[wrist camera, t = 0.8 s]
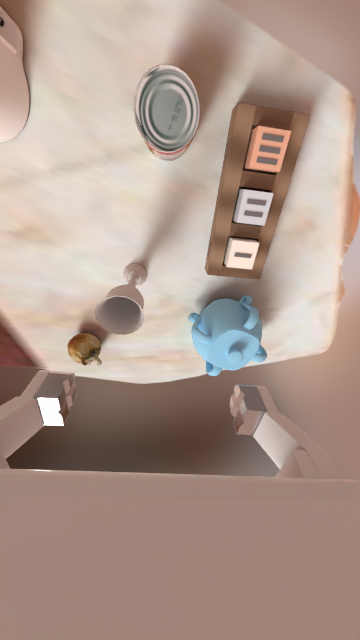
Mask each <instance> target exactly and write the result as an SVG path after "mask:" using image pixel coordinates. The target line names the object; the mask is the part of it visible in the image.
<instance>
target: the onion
mask: <svg viewBox="0 0 360 640" xmlns="http://www.w3.org/2000/svg"><path fill="white" fill-rule="evenodd" d="M100 350H101V345H100V342H99V340H98V338H97V337H96V336H94V335H92V334H88V333H81V334H78V335H76V336H74V337H73V338H72V339H71V340H70V341H69V343H68V353H69V355H70V357H71V358H72V359H73V360H75V361H76V362H78V363H81V364H83V365H87V364H89V365H90V363H91V362H92V361H94V362H95V363H97V364H98V365H101V363H102V361H101V360H100V359H99V357H98V355H99V354H100Z"/></svg>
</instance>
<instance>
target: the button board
mask: <svg viewBox="0 0 360 640" xmlns="http://www.w3.org/2000/svg"><path fill="white" fill-rule="evenodd" d="M309 119H310V115H309V114H303V113H297V112H291V111H285V110H279V109H274V108H268V107H262V106H256V105H250V104H244V103H238V105H237V106H236V107H235V108H234V109H233V110H232V116H231V121H230V127H229V133H228V139H227V144H226V150H225V156H224V162H223V167H222V173H221V179H220V185H219V190H218V196H217V202H216V208H215V213H214V219H213V225H212V231H211V236H210V242H209V248H208V254H207V259H206V265H205V270H206V272H207V274H208V275H216V276H227V277H237V278H248V279H260V276H261V273H262V270H263V266H264V263H265V260H266V257H267V253H268V250H269V247H270V244H271V241H272V237H273V234H274V231H275V228H276V225H277V221H278V218H279V215H280V212H281V208H282V205H283V202H284V199H285V196H286V192H287V189H288V186H289V183H290V180H291V176H292V173H293V170H294V167H295V163H296V160H297V157H298V154H299V151H300V147H301V144H302V141H303V138H304V135H305V131H306V128H307V125H308V122H309ZM257 126H263V127H270V128H276V129H282V130H288V131H291V134H290V138H289V141H288V145H287V148H286V152H285V155H284V159H283V162H282V166H281V169H280V172H273V173H272V172H265V171H258V170H251V169H244V166H245V162H246V157H247V152H248V148H249V143H250V138H251V134H252V130H253V129H254V128H256V127H257ZM240 189H245V190H253V191H260V192H268V193H274V194H273V198H272V201H271V205H270V208H269V212H268V215H267V219H266V222H265V226H262V225H254V224H245V223H237V222H235V221H233V218H234V213H235V208H236V204H237V199H238V194H239V190H240ZM229 237H234V238H243V239H252V240H256V241H257V242H259V247H258V250H257V254H256V257H255V261H254V264H253V268H252V270H251V269H241V268H231V267H226V265H225V264H224V260H225V255H226V250H227V246H228V241H229Z"/></svg>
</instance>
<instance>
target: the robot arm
mask: <svg viewBox="0 0 360 640" xmlns="http://www.w3.org/2000/svg"><path fill="white" fill-rule="evenodd" d="M1 20H4V26H3V27H1ZM22 58H23V37H22V33H21V31H20V29H19V27H18V26H17V24H16V23H15V22H14V21H13V20H12V19H11V17H10V16H9V15H8V14H7V13H6V12H5V11H4V10H3V8H2V7H1V6H0V142H5V141H8V140H10V139H12V138H14V137H15V136H17V135H18V134H19V133H20V131H21V130H22V129H23V127H24V125H25V123H26V120H27V117H28V112H29V91H28V85H27V80H26V76H25V72H24V68H23V62H22ZM74 380H75V374H74V373H69V372H59V371H46V370H40V371H39V372H37V374H36V375H35V377H34V378H33V380H32V381H31V382H30V383H29V385H28V386H27V388H26V389H25V391H24V392H23V393H22V395H21V396H20V397H15V398H13V399H12V400H10V401H8V402H7V403H5V404H3V405H1V406H0V640H360V480H350V479H341V477H340V475H339V474H338V472H337V470H336V468H335V467H334V465H333V463H332V461H331V460H330V458H329V456H328V455H327V453H326V451H325V450H324V449H323V448H322V447H321V446H319V445H318V444H317V443H316V442H315V441H314V440H312V439H311V438H310V437H309V436H308V435H306V434H305V433H304V432H303V431H302V430H300V429H299V428H298V427H297V426H296V425H295V424H293V423H292V422H291V421H290V420H288V418H286V417H285V416H284V415H283V414H282V413H278V411H277V409H276V407H275V405H274V403H273V401H272V398H271V396H270V395H269V392H268V390H267V388H266V387H265V386H252V385H236V386H235V388H234V391H235V393H234V394H233V395H232V396H231V399H230V410H231V414H232V415H233V416H234V417H235V419H234V426H235V429H236V433H237V434H244V435H253V437H254V438H255V439H256V440H257V442H258V443H259V444H260V445H261V446H262V448H263V449H264V450H265V451H266V452H267V454H268V455H269V456H270V457H271V459H272V460H273V461H274V463H275V464H276V465H277V466H278V468H279V469H280V471H279V472H278V474H277V475H276V476H275V477H254V476H250V477H249V476H222V475H191V474H158V473H125V472H122V473H121V472H93V471H92V472H91V471H62V470H30V469H28V470H27V469H10V468H9V466H8V464H7V462H6V460H5V459H6V458H7V457H9V456H10V455H11V454H12V453H13V452H14V451H16V449H18V448H19V447H20V446H21V445H22V444H24V443H25V442H26V441H27V440H28V439H29V438H31V437H32V436H33V435H34V434H35V433H36V432H37V431H39V430H40V429H41V428H42V427H43V426H44V425H64V423H65V420H66V418H67V416H68V414H69V410H68V408H69V407H70V406H71V405H73V403H74V400H75V397H76V392H77V388H76V384H75V383H74Z"/></svg>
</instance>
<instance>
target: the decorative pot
mask: <svg viewBox="0 0 360 640" xmlns="http://www.w3.org/2000/svg"><path fill="white" fill-rule="evenodd" d="M251 302H252V298H251V297H250V296H249V295H244V296H243V297H242V298H241V299H240V301H236V300H233V299H228V298H222V299H218V300H215V301H213V302H212V303H210V304H209V305H208V306H207V307H206V308H205V309H204V310H203V311H202V312H201V313H200V315H198V314H197V313H191V314H190V315H189V317H188V319H189V320H190V321H191V322H195V323H194V325H193V327H192V339H193V343H194V346H195V348H196V350H197V351H198V353H199V354H200V355H201V356H202V357H203V359H204V361H206V371H207V373H208V374H209V375H211V376H216V375H218V374H219V373H220V372H221V371H222V369H227V370H237V369H240V368H242V367H243V366H245V365H246V364H247V363H248V362H249V361H250V360H253V361H255V362H263V361H264V360H265V359H266V357H267V353H266V351H265V350H264V349H263V347H262V346H261V345H260V342H261V336H262V325H261V321H260V318H259V311H258V309H257V308H255V307H254V306H252V305H250V304H251ZM256 352H257V353H256ZM213 365H215V366H214V368H213Z"/></svg>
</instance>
